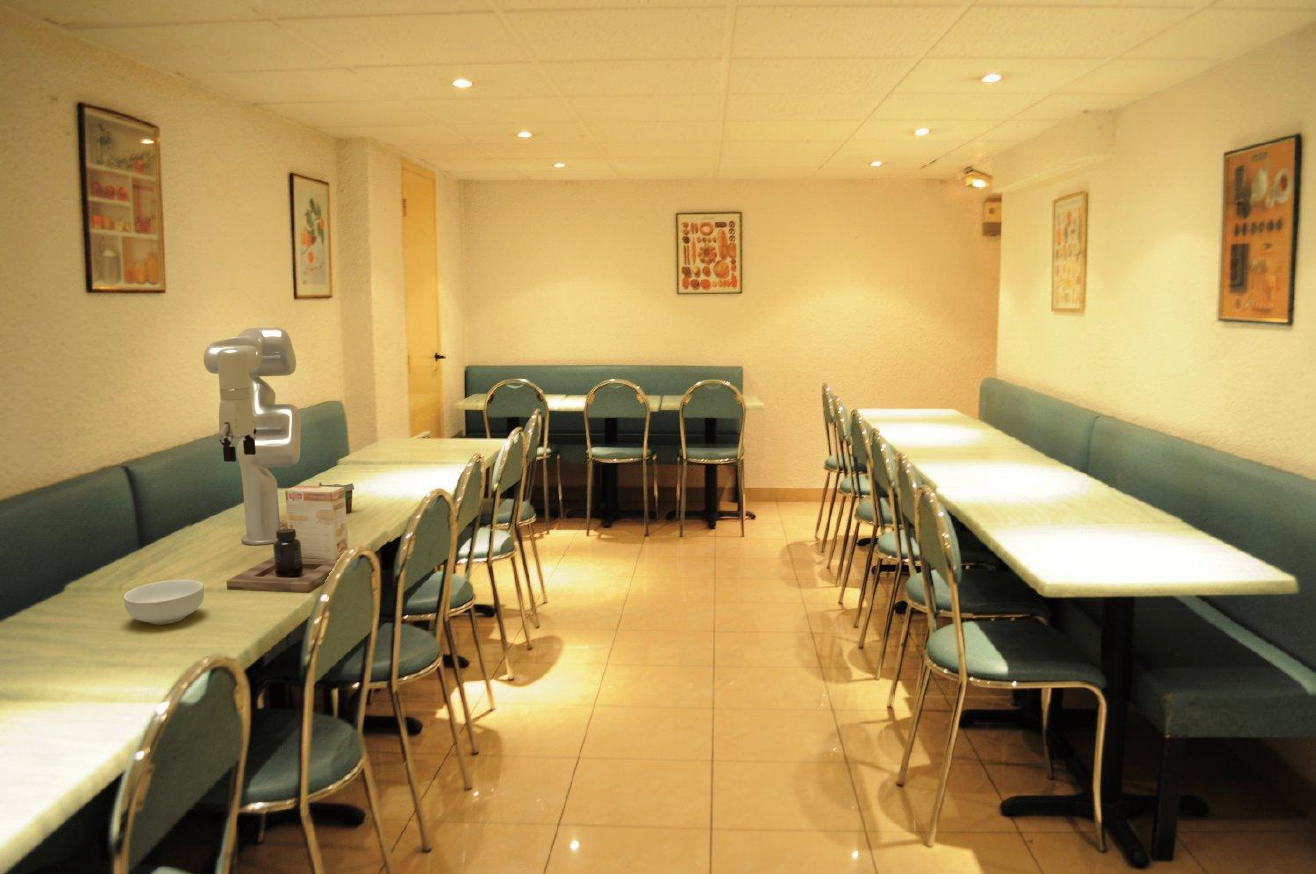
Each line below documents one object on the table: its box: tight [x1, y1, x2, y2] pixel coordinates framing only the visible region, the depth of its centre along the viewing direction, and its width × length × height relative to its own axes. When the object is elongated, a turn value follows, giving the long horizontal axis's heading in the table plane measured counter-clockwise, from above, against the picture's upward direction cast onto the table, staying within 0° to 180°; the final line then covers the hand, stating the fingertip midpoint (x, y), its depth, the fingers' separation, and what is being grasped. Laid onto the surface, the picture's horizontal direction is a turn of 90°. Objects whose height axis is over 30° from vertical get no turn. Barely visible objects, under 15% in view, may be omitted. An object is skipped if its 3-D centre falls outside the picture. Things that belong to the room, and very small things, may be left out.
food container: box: [318, 482, 355, 515], centre depth 342 cm, size 12×6×10 cm, turn 81°
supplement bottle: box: [272, 528, 303, 578], centre depth 270 cm, size 7×7×12 cm
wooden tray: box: [225, 556, 338, 594], centre depth 270 cm, size 22×22×2 cm
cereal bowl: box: [123, 579, 205, 625], centre depth 239 cm, size 17×17×7 cm
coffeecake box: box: [284, 484, 349, 560], centre depth 291 cm, size 15×7×20 cm, turn 74°
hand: (240, 457), depth 278 cm, fingers open, 9 cm apart
